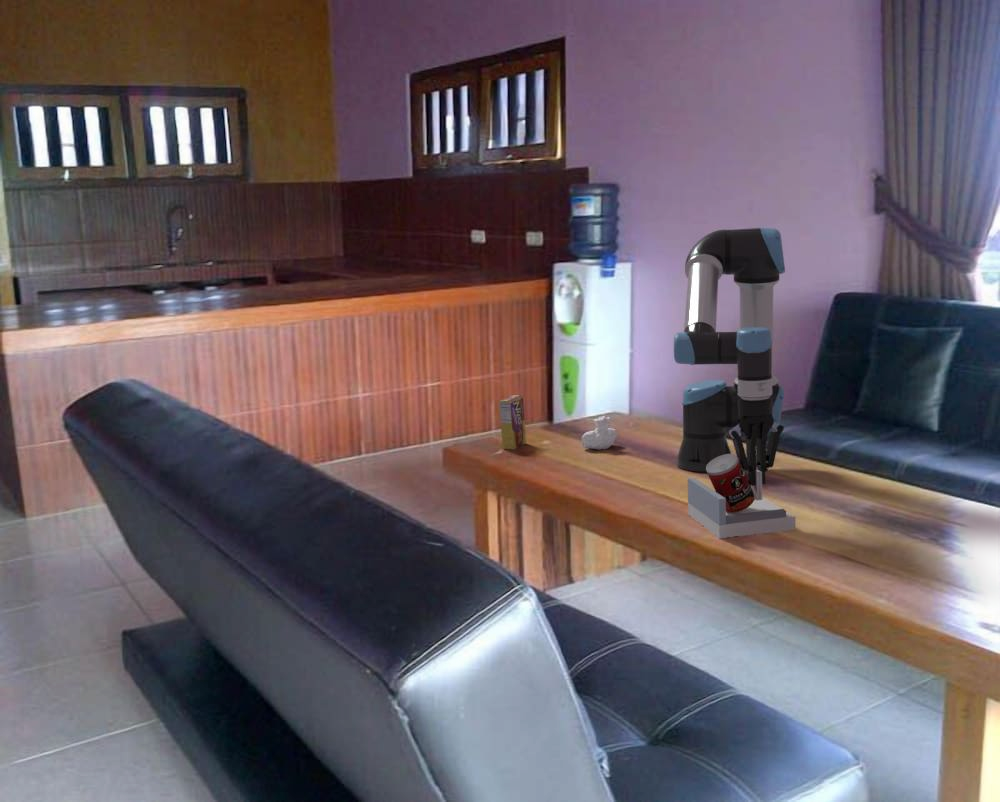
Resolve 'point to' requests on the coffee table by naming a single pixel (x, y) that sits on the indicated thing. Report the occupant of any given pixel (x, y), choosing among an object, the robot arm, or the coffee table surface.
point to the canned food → (730, 482)
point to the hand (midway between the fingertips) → (757, 498)
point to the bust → (600, 435)
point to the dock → (735, 514)
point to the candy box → (512, 422)
